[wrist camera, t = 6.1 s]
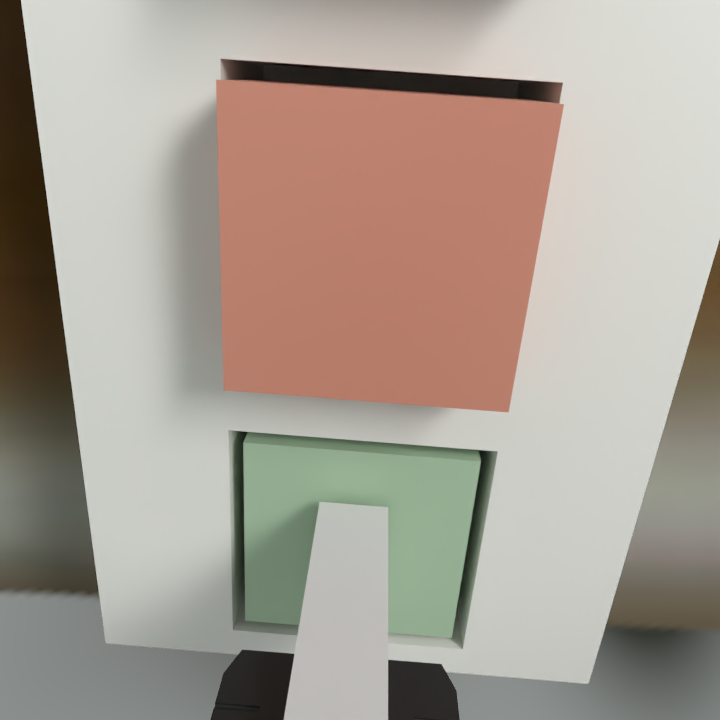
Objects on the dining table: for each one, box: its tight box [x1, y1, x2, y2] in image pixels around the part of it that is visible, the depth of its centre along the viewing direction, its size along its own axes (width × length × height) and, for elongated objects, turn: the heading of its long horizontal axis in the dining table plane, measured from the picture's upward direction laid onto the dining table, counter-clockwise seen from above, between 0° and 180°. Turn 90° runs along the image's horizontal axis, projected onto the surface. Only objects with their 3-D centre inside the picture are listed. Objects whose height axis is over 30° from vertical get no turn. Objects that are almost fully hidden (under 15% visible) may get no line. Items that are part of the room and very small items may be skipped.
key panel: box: [21, 0, 720, 684], centre depth 14 cm, size 21×12×4 cm, turn 176°
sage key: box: [243, 432, 481, 638], centre depth 16 cm, size 5×5×3 cm
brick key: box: [216, 80, 564, 412], centre depth 12 cm, size 5×5×3 cm
